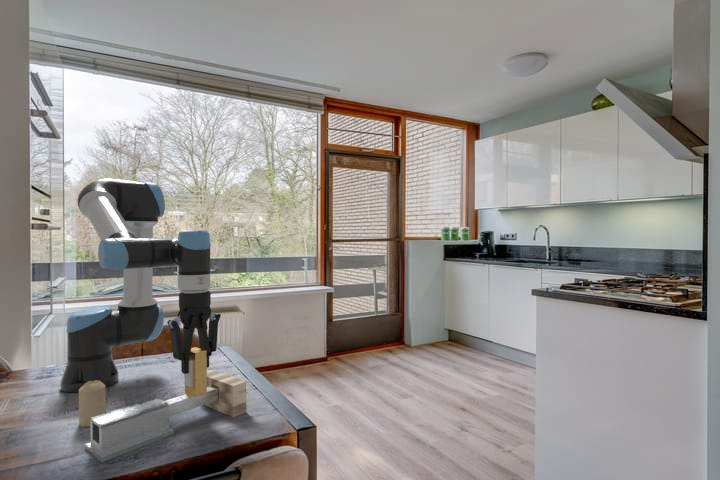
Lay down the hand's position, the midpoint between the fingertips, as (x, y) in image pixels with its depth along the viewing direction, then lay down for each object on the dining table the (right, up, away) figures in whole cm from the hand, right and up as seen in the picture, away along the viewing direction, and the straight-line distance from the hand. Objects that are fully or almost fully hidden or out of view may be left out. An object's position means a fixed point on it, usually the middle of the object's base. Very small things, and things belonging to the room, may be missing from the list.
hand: (195, 383), depth 103 cm
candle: (-25, -9, -2) cm, 26 cm away
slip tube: (-3, -6, -4) cm, 7 cm away
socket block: (+5, -8, +6) cm, 11 cm away
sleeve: (-9, -9, -12) cm, 18 cm away
